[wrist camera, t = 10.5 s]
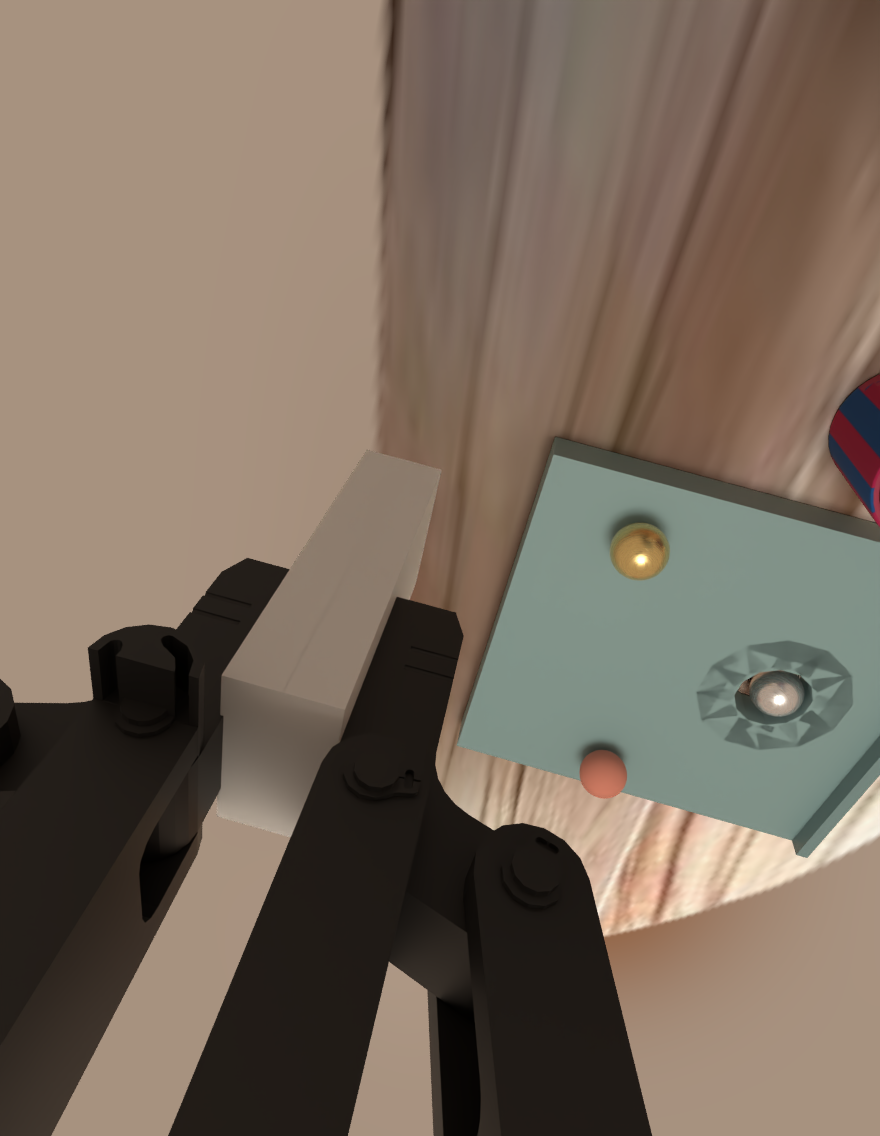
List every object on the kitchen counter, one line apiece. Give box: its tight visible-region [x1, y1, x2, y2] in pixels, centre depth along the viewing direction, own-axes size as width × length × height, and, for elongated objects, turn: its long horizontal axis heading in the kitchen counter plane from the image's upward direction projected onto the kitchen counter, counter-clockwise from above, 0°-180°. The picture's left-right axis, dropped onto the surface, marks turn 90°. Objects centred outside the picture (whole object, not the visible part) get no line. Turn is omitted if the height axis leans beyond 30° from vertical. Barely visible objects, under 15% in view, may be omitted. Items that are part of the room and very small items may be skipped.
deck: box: [457, 437, 880, 858], centre depth 45 cm, size 24×26×4 cm
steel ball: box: [749, 670, 804, 717], centre depth 45 cm, size 3×3×3 cm
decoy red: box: [579, 750, 627, 798], centre depth 48 cm, size 3×3×3 cm
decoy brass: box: [610, 522, 670, 581], centre depth 39 cm, size 3×3×3 cm
